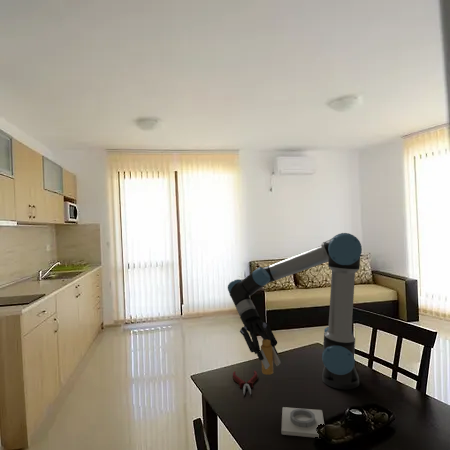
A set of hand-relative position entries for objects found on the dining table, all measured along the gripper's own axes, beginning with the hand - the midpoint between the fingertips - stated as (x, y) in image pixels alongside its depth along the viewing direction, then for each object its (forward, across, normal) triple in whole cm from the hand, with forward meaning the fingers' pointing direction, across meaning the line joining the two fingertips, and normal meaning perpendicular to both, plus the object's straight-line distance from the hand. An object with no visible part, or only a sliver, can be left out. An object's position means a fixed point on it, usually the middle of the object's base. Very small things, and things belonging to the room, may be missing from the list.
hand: (273, 365), depth 119 cm
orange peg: (0, 0, -5) cm, 5 cm away
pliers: (-5, 0, -28) cm, 28 cm away
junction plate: (+20, -2, -2) cm, 20 cm away
